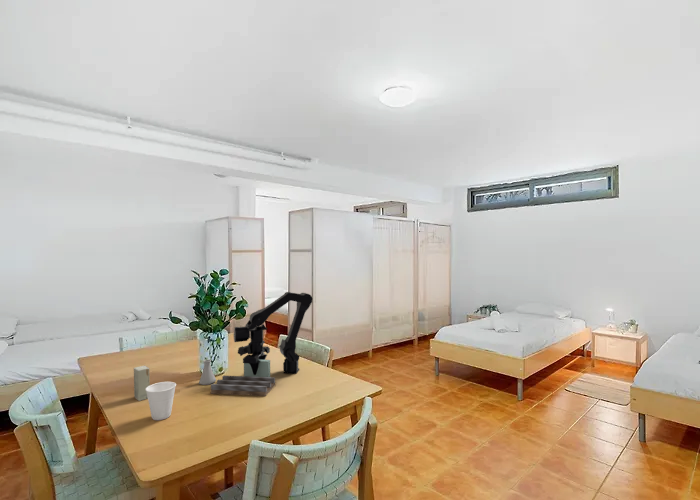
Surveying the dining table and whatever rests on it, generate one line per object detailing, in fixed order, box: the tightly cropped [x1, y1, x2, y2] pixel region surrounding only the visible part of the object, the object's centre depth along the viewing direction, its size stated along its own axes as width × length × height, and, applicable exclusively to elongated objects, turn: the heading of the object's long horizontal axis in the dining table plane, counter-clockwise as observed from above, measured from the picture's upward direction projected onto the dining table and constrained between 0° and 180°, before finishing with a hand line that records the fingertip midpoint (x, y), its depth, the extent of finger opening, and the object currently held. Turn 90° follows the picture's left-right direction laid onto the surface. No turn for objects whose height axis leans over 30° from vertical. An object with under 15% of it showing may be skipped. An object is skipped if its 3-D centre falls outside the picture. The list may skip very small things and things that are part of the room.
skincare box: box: [133, 365, 151, 402], centre depth 149 cm, size 6×4×12 cm
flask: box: [198, 359, 217, 386], centre depth 166 cm, size 7×7×10 cm
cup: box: [145, 381, 177, 421], centre depth 132 cm, size 10×10×11 cm
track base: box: [210, 375, 276, 397], centre depth 157 cm, size 24×12×4 cm, turn 83°
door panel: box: [243, 359, 271, 377], centre depth 172 cm, size 12×2×8 cm, turn 83°
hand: (257, 372), depth 172 cm, fingers open, 5 cm apart
